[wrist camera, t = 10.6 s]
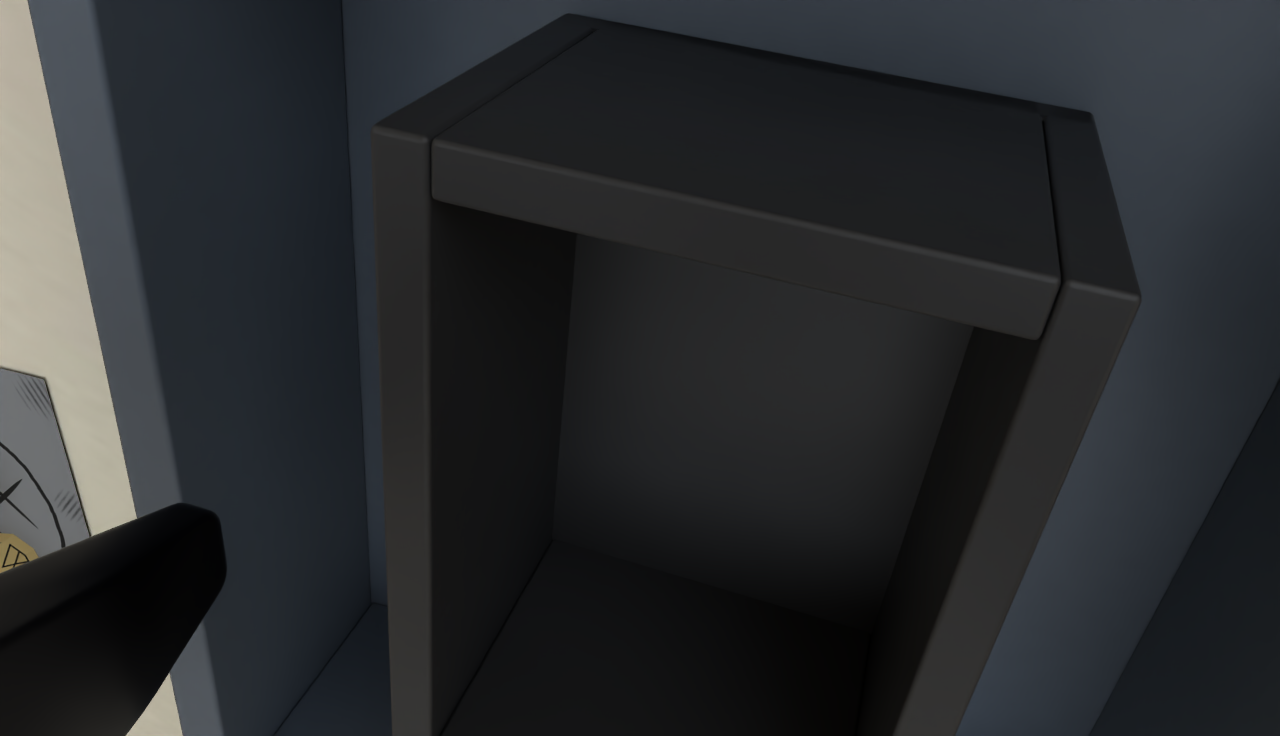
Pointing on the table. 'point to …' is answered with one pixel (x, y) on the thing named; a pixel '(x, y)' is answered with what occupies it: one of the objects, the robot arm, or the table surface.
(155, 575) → the robot arm
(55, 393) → the table surface
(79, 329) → the table surface
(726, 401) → the black bin
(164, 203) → the grey bin
